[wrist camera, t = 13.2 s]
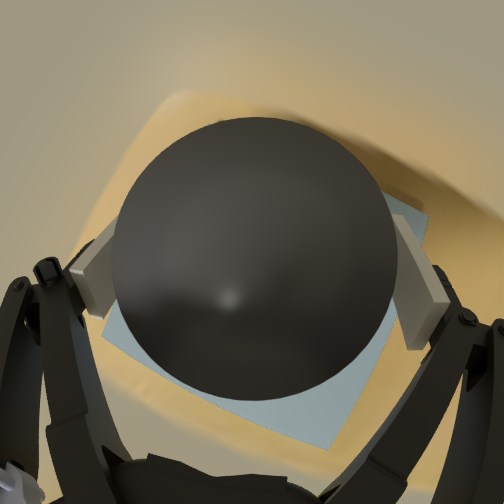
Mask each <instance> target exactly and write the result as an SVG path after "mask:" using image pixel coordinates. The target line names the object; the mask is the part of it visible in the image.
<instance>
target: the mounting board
mask: <svg viewBox="0 0 504 504" xmlns="http://www.w3.org/2000/svg"><path fill="white" fill-rule="evenodd" d="M208 125H211V124H208ZM381 192H382V191H381ZM382 194H383V196H384V197H385V200H386V202H387V205H388V207H389V210H390V213H391V214H397V215H403V217H404V218H405V220H406V222H407V223H408V225H409V226H410V228H411V230H412V231H413V233H414V235H415V236H416V238H417V240H418V241H419V243H420V245H421V244H422V241H423V237H424V234H425V230H426V226H427V222H428V218H429V216H428V215H426V214H424V213H422V212H420V211H419V210H417V209H415V208H413V207H411V206H409V205H407V204H405V203H404V202H402V201H400V200H398V199H396V198H394V197H392V196H390V195H388V194H386V193H384V192H382ZM397 315H398V314H397V311H396V307H395V304H394V301H393V298H392V299H391V302H390V305H389V308H388V311H387V313H386V315H385V317H384V319H383V321H382V323H381V325H380V327H379V329H378V330H377V332H376V333H375V335H374V336H373V338H372V339H371V341H370V342H369V344H368V345H367V346H366V348H365V349H364V350H363V351H362V352H361V353H360V354H359V355H358V356H357V357H356V359H355V360H354V361H353V362H351V363H350V364H349V365H348V366H347V367H345V368H344V369H343V370H342V371H341V372H339V373H338V374H337V375H335V376H333V377H332V378H330V379H329V380H327V381H325V382H324V383H322V384H320V385H318V386H316V387H314V388H311V389H309V390H307V391H304V392H302V393H299V394H295V395H292V396H288V397H284V398H280V399H273V400H265V401H239V400H233V399H226V398H220V397H217V396H213V395H210V394H207V393H204V392H201V391H199V390H196V389H194V388H192V387H190V386H188V385H186V384H184V383H182V382H180V381H179V380H177V379H176V378H174V377H173V376H171V375H170V374H168V373H167V372H165V371H164V370H163V369H162V368H161V367H160V366H158V365H157V364H156V363H155V362H154V361H153V360H152V359H151V358H150V357H149V356H148V355H147V354H146V352H145V351H144V350H143V349H142V348H141V347H140V345H139V344H138V343H137V341H136V340H135V338H134V337H133V335H132V333H131V332H130V330H129V329H128V327H127V324H126V322H125V320H124V318H123V316H122V314H121V311H120V308H119V305H118V302H117V299H116V300H115V303H114V305H113V308H112V310H111V312H110V315H109V317H108V320H107V322H106V325H105V328H104V330H103V333H102V335H101V336H102V337H103V338H104V339H106V340H107V341H109V342H110V343H111V344H113V345H114V346H116V347H117V348H119V349H120V350H122V351H123V352H125V353H126V354H128V355H129V356H131V357H132V358H134V359H135V360H137V361H138V362H140V363H141V364H143V365H145V366H146V367H148V368H149V369H151V370H153V371H154V372H156V373H158V374H159V375H161V376H163V377H164V378H166V379H168V380H169V381H171V382H173V383H175V384H176V385H178V386H180V387H182V388H184V389H185V390H187V391H189V392H191V393H193V394H195V395H197V396H198V397H200V398H202V399H204V400H206V401H208V402H210V403H212V404H214V405H216V406H218V407H220V408H222V409H224V410H226V411H229V412H231V413H233V414H235V415H237V416H239V417H242V418H244V419H246V420H248V421H251V422H253V423H255V424H258V425H260V426H262V427H265V428H267V429H270V430H272V431H275V432H277V433H280V434H282V435H285V436H288V437H290V438H293V439H296V440H299V441H301V442H304V443H307V444H310V445H313V446H316V447H319V448H322V449H325V450H328V449H329V447H330V446H331V444H332V442H333V441H334V439H335V438H336V436H337V435H338V433H339V431H340V430H341V428H342V426H343V425H344V423H345V421H346V420H347V418H348V416H349V414H350V413H351V411H352V409H353V407H354V406H355V404H356V402H357V400H358V398H359V397H360V395H361V393H362V391H363V389H364V387H365V385H366V383H367V381H368V379H369V377H370V375H371V373H372V371H373V369H374V367H375V365H376V363H377V361H378V359H379V357H380V354H381V352H382V350H383V348H384V346H385V343H386V341H387V339H388V337H389V334H390V332H391V329H392V327H393V325H394V322H395V320H396V317H397Z"/></svg>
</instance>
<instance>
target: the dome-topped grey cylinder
mask: <svg viewBox="0 0 504 504" xmlns="http://www.w3.org/2000/svg"><path fill="white" fill-rule="evenodd" d="M397 265H398V249H397V239H396V232H395V227H394V223H393V219H392V215H391V213H390V210H389V207H388V205H387V202H386V200H385V197H384V196H383V194H382V192H381V190H380V188H379V187H378V185H377V183H376V181H375V180H374V179H373V177H372V176H371V175H370V173H369V172H368V170H367V169H366V168H365V167H364V166H363V164H362V163H361V162H360V161H359V160H358V159H357V158H356V157H355V156H354V155H353V154H352V153H350V152H349V151H348V150H347V149H346V148H344V147H343V146H342V145H341V144H339V143H338V142H336V141H335V140H333V139H331V138H330V137H328V136H326V135H325V134H323V133H321V132H319V131H316V130H314V129H312V128H310V127H308V126H305V125H301V124H298V123H295V122H292V121H287V120H281V119H276V118H264V117H249V118H237V119H231V120H226V121H221V122H218V123H214V124H211V125H208V126H205V127H203V128H200V129H198V130H196V131H194V132H191V133H189V134H188V135H186V136H184V137H182V138H181V139H179V140H177V141H176V142H174V143H173V144H172V145H170V146H169V147H168V148H166V149H165V150H164V151H162V152H161V153H160V154H159V155H158V156H157V157H156V158H155V159H154V160H153V161H152V162H151V163H150V164H149V165H148V166H147V167H146V168H145V170H144V171H143V172H142V173H141V175H140V176H139V177H138V178H137V180H136V182H135V183H134V185H133V186H132V188H131V189H130V191H129V193H128V195H127V197H126V199H125V201H124V203H123V205H122V208H121V210H120V213H119V216H118V219H117V222H116V226H115V231H114V236H113V241H112V252H111V269H112V280H113V286H114V291H115V296H116V299H117V302H118V305H119V308H120V311H121V314H122V316H123V318H124V320H125V322H126V324H127V327H128V329H129V330H130V332H131V333H132V335H133V337H134V338H135V340H136V341H137V343H138V344H139V345H140V347H141V348H142V349H143V350H144V351H145V352H146V354H147V355H148V356H149V357H150V358H151V359H152V360H153V361H154V362H155V363H156V364H157V365H158V366H160V367H161V368H162V369H163V370H164V371H165V372H167V373H168V374H170V375H171V376H173V377H174V378H176V379H177V380H179V381H180V382H182V383H184V384H186V385H188V386H190V387H192V388H194V389H196V390H199V391H201V392H204V393H207V394H210V395H213V396H217V397H220V398H226V399H233V400H239V401H265V400H273V399H280V398H284V397H288V396H292V395H295V394H299V393H302V392H304V391H307V390H309V389H311V388H314V387H316V386H318V385H320V384H322V383H324V382H325V381H327V380H329V379H330V378H332V377H333V376H335V375H337V374H338V373H339V372H341V371H342V370H343V369H344V368H345V367H347V366H348V365H349V364H350V363H351V362H353V361H354V360H355V359H356V357H357V356H358V355H359V354H360V353H361V352H362V351H363V350H364V349H365V348H366V346H367V345H368V344H369V342H370V341H371V339H372V338H373V336H374V335H375V333H376V332H377V330H378V329H379V327H380V325H381V323H382V321H383V319H384V317H385V315H386V313H387V311H388V308H389V305H390V302H391V299H392V296H393V292H394V287H395V282H396V276H397Z"/></svg>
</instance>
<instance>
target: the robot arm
mask: <svg viewBox="0 0 504 504" xmlns="http://www.w3.org/2000/svg"><path fill="white" fill-rule="evenodd" d="M391 215H392V219H393V223H394V227H395V232H396V239H397V249H398V265H397V276H396V282H395V287H394V292H393V296H392V298H393V301H394V304H395V307H396V311H397V314H398V317H399V321H400V324H401V328H402V331H403V335H404V339H405V342H406V346H407V350H423V349H424V347H425V345H426V344H427V342H428V341H429V343H430V346H431V349H430V350H429V352H428V353H427V355H426V356H425V358H424V359H423V361H422V362H421V366H420V367H419V369H418V371H417V373H416V374H415V376H414V378H413V379H412V381H411V383H410V384H409V386H408V387H407V389H406V390H405V392H404V394H403V395H402V397H401V398H400V400H399V401H398V403H397V404H396V406H395V407H394V409H393V410H392V411H391V413H390V414H389V416H388V417H387V418H386V420H385V421H384V423H383V424H382V425H381V427H380V428H379V429H378V431H377V432H376V433H375V435H374V436H373V437H372V438H371V440H370V441H369V442H368V443H367V445H366V446H365V447H364V448H363V450H362V451H361V452H360V453H359V454H358V456H357V457H356V458H355V459H354V460H353V461H352V463H351V464H350V465H349V466H348V467H347V468H346V469H345V470H344V472H343V473H342V474H341V475H340V476H339V477H338V478H337V479H335V480H334V481H333V482H332V483H331V484H330V485H329V486H328V487H327V488H326V489H325V490H324V491H323V492H322V493H321V494H320V495H319V496H318V497H316V496H315V495H314V494H312V493H311V492H309V491H308V490H306V489H304V488H302V487H300V486H298V485H296V484H293V483H289V482H287V477H286V476H269V475H258V474H246V475H236V476H221V477H213V476H210V475H208V474H206V473H203V472H201V471H199V470H197V469H195V468H192V467H190V466H188V465H186V464H184V463H182V462H180V461H176V460H172V459H168V458H164V457H161V456H157V455H153V454H150V453H148V456H147V459H136V460H132V458H131V456H130V454H129V453H128V451H127V450H126V448H125V447H124V446H123V443H122V442H121V439H120V437H119V434H118V432H117V429H116V427H115V424H114V422H113V419H112V416H111V413H110V410H109V407H108V404H107V401H106V398H105V395H104V392H103V389H102V386H101V382H100V379H99V376H98V372H97V368H96V365H95V361H94V357H93V353H92V349H91V345H90V341H89V337H88V332H87V327H86V323H85V318H84V316H83V314H82V313H83V311H84V310H85V308H86V309H87V311H88V313H89V315H90V317H93V318H98V319H102V320H103V319H104V318H105V316H106V314H107V313H108V311H109V309H110V308H111V306H112V305H113V303H114V301H115V300H116V296H115V291H114V286H113V280H112V269H111V252H112V241H113V236H114V231H115V226H116V222H117V219H118V216H119V215H118V216H117V217H116V218H115V219H114V220H113V221H112V222H111V223H110V224H109V225H108V226H107V227H106V228H105V229H104V231H103V232H102V233H101V234H100V235H99V236H98V237H97V238H96V239H93V240H92V241H90V242H89V243H87V244H86V245H85V246H84V247H83V248H82V249H81V250H80V252H78V253H77V255H76V257H74V258H73V259H72V260H71V261H70V263H69V264H68V265H67V266H66V267H65V268H64V269H63V271H62V268H61V266H60V263H59V261H58V258H56V257H47V258H45V259H43V260H41V261H39V262H38V263H37V264H36V265H35V266H34V269H33V272H34V274H35V276H36V278H37V281H38V283H39V284H35V285H31V283H30V281H29V279H28V277H26V276H23V277H19V278H16V279H15V280H14V281H13V282H12V283H11V284H10V285H9V287H8V289H7V292H6V294H5V297H4V299H3V302H2V304H1V307H0V504H41V502H43V501H44V500H45V493H44V491H43V490H42V489H41V488H40V487H39V485H38V483H37V479H38V469H39V411H40V410H39V409H40V395H41V384H42V375H43V372H44V380H45V387H46V393H47V400H48V406H49V411H50V417H51V424H50V425H48V426H47V427H46V438H47V442H48V446H49V450H50V454H51V458H52V462H53V465H54V469H55V472H56V475H57V479H58V482H59V485H60V488H61V491H62V494H63V497H61V498H59V499H57V500H55V501H53V502H51V503H49V504H396V502H397V501H398V500H399V498H400V497H401V496H402V494H403V493H404V491H405V489H406V487H407V484H408V483H407V478H408V476H409V474H410V473H411V471H412V470H413V468H414V467H415V465H416V464H417V462H418V460H419V459H420V457H421V456H422V454H423V452H424V451H425V449H426V447H427V446H428V444H429V442H430V440H431V439H432V437H433V435H434V433H435V431H436V430H437V428H438V426H439V424H440V422H441V420H442V418H443V416H444V414H445V412H446V410H447V408H448V406H449V404H450V402H451V399H452V397H453V395H454V393H455V391H456V388H457V386H458V384H459V381H460V379H461V376H462V374H463V378H462V386H461V393H460V399H459V405H458V410H457V415H456V420H455V425H454V429H453V434H452V438H451V442H450V446H449V450H448V453H447V457H446V460H445V464H444V467H443V470H442V473H441V476H440V479H439V482H438V485H437V488H436V491H435V493H434V496H433V499H432V501H431V504H503V502H504V319H500V318H499V319H496V320H495V321H494V322H493V324H492V325H491V326H488V325H485V324H482V323H479V321H478V318H477V316H476V315H475V314H474V313H473V312H472V311H471V310H469V309H467V308H464V307H462V305H461V303H460V301H459V299H458V297H457V295H456V293H455V291H454V289H453V288H452V285H451V283H450V282H449V280H448V278H447V276H446V274H445V272H444V271H443V270H442V269H441V268H440V267H439V266H438V265H431V263H430V261H429V259H428V257H427V256H426V254H425V252H424V250H423V248H422V247H421V245H420V243H419V241H418V240H417V238H416V236H415V235H414V233H413V231H412V230H411V228H410V226H409V225H408V223H407V222H406V220H405V218H404V217H403V215H397V214H391ZM24 321H25V322H26V325H25V323H24Z"/></svg>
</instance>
